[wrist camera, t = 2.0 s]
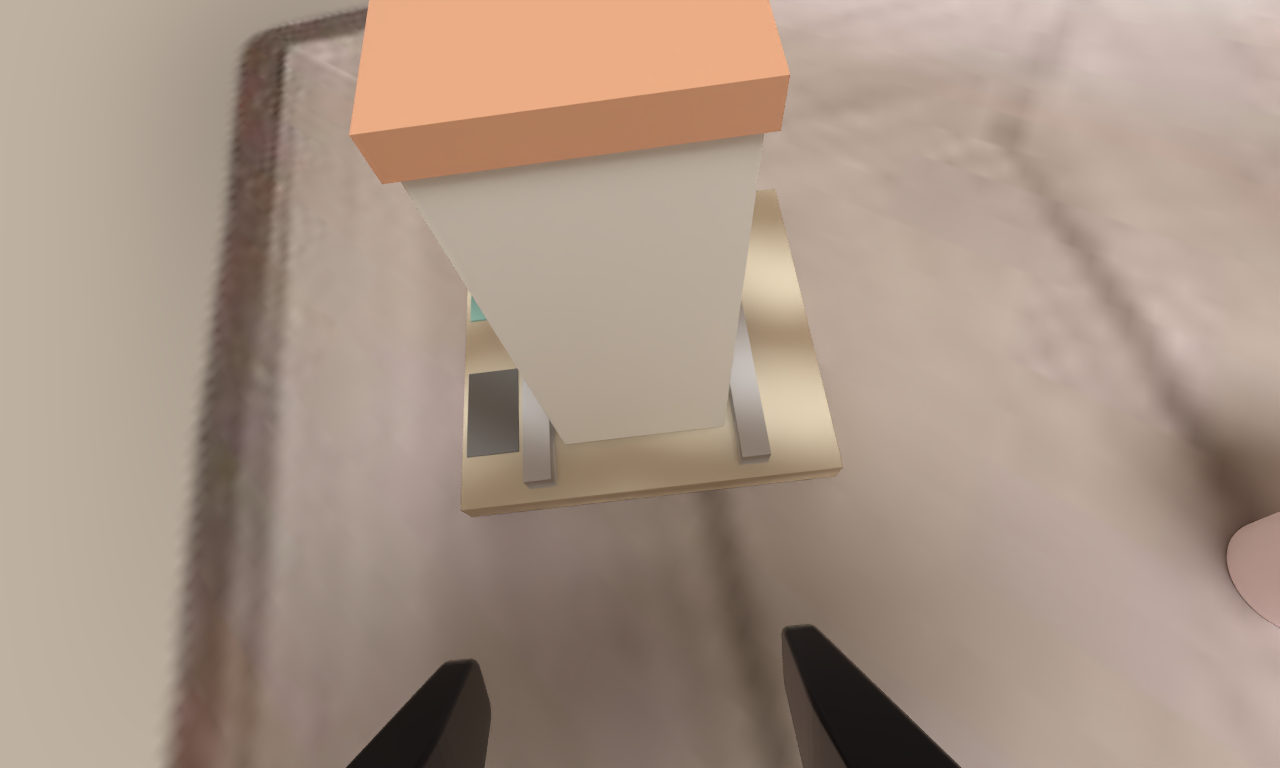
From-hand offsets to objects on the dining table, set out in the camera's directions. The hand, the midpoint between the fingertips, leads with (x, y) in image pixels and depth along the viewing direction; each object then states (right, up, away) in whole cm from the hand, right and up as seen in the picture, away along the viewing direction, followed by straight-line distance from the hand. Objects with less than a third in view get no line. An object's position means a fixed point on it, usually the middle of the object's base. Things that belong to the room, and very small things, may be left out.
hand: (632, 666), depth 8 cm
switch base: (0, +5, +17) cm, 18 cm away
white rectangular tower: (0, +4, +15) cm, 16 cm away
